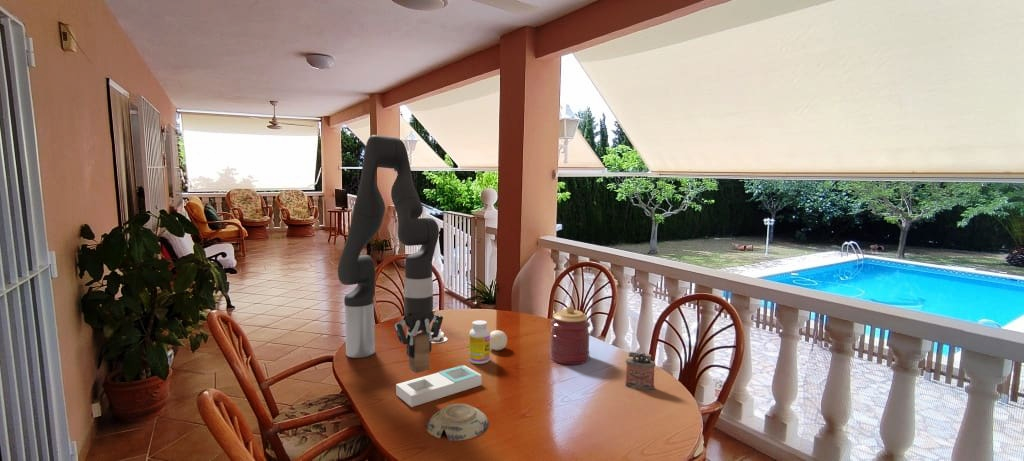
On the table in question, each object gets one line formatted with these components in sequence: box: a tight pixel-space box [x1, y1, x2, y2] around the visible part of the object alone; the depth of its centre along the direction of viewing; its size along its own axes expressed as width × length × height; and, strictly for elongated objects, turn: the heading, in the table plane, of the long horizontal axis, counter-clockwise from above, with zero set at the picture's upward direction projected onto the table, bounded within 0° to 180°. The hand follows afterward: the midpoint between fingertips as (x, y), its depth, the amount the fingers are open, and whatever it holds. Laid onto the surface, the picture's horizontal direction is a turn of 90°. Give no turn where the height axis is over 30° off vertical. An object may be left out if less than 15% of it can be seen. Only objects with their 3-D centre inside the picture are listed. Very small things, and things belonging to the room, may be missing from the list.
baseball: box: [490, 329, 508, 351], centre depth 165 cm, size 7×7×7 cm
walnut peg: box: [408, 330, 430, 374], centre depth 128 cm, size 4×4×10 cm
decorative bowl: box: [426, 403, 490, 441], centre depth 115 cm, size 15×4×15 cm
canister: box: [549, 305, 591, 365], centre depth 157 cm, size 13×13×18 cm
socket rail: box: [395, 364, 483, 408], centre depth 133 cm, size 9×22×3 cm, turn 128°
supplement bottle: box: [468, 319, 491, 365], centre depth 154 cm, size 7×7×13 cm
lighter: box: [624, 351, 656, 391], centre depth 135 cm, size 8×3×10 cm, turn 71°
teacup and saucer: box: [431, 328, 448, 344], centre depth 175 cm, size 9×8×4 cm
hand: (419, 355), depth 128 cm, fingers closed on walnut peg, 4 cm apart
